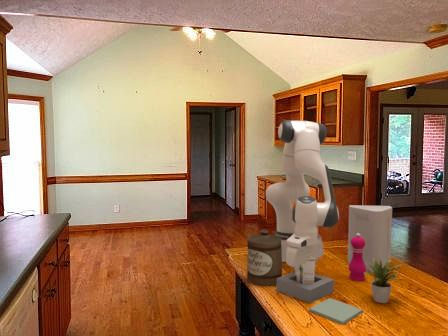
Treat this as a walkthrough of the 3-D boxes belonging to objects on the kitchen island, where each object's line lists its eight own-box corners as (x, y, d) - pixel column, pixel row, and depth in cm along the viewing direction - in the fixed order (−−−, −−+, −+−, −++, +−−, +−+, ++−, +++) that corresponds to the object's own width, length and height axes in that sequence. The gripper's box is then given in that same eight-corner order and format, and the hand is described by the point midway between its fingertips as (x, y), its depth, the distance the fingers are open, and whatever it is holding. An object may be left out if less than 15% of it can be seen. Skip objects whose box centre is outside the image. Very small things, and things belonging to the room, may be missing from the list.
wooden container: (240, 280, 161) (240, 229, 160) (261, 271, 172) (261, 223, 171) (268, 289, 151) (268, 235, 150) (288, 279, 162) (289, 229, 161)
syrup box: (295, 288, 152) (296, 253, 151) (310, 288, 152) (310, 253, 151) (299, 294, 146) (300, 257, 145) (314, 293, 147) (315, 257, 146)
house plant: (399, 313, 130) (401, 267, 129) (358, 304, 137) (359, 260, 136) (404, 298, 142) (406, 256, 141) (366, 291, 149) (367, 250, 148)
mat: (309, 311, 132) (309, 308, 132) (329, 300, 140) (329, 298, 140) (342, 324, 122) (342, 321, 122) (362, 312, 131) (362, 309, 131)
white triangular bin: (354, 271, 172) (355, 210, 169) (347, 261, 186) (348, 205, 184) (397, 273, 169) (399, 211, 167) (387, 262, 184) (389, 206, 182)
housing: (276, 290, 150) (276, 278, 150) (300, 280, 161) (300, 269, 160) (310, 303, 138) (310, 290, 138) (333, 291, 149) (334, 279, 148)
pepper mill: (367, 282, 159) (368, 235, 157) (349, 280, 160) (350, 234, 158) (364, 276, 166) (365, 231, 164) (347, 274, 167) (348, 230, 166)
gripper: (314, 232, 157) (313, 264, 158) (283, 241, 143) (283, 276, 144) (327, 235, 152) (327, 268, 153) (296, 244, 139) (296, 281, 140)
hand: (305, 272), depth 149 cm, fingers closed on syrup box, 8 cm apart
